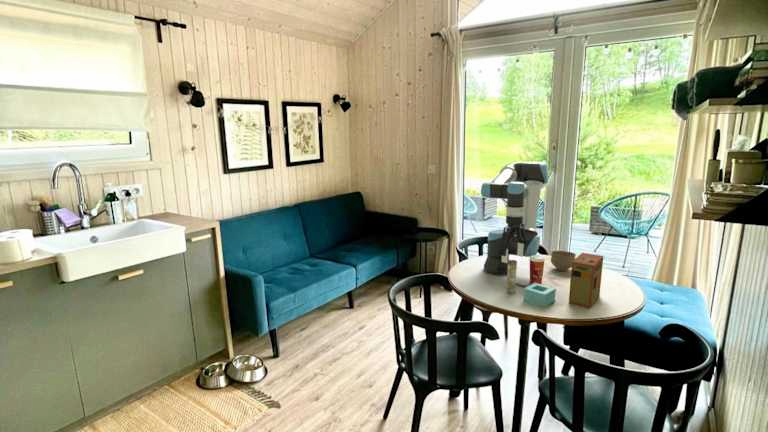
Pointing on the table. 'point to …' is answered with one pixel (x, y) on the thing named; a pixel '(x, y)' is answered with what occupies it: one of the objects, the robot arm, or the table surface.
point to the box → (585, 280)
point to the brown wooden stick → (521, 285)
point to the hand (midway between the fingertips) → (512, 259)
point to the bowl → (562, 259)
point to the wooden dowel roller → (511, 276)
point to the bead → (539, 294)
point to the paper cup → (536, 268)
